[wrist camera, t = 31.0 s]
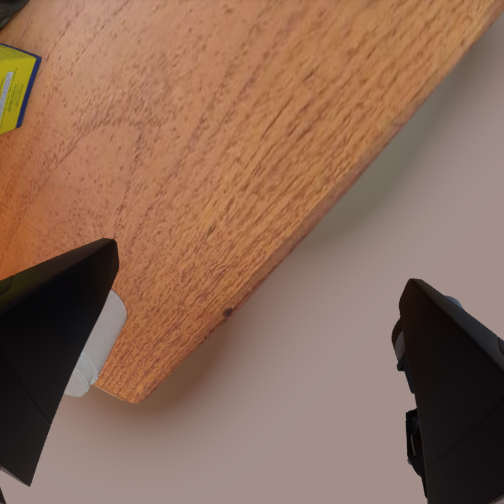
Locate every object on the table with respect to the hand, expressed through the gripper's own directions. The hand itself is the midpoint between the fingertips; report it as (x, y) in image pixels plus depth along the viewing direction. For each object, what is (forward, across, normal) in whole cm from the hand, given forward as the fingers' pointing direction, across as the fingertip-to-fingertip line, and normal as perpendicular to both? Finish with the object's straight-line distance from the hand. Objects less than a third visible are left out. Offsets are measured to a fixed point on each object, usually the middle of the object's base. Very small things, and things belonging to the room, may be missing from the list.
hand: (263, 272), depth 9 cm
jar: (+12, +14, +14) cm, 23 cm away
